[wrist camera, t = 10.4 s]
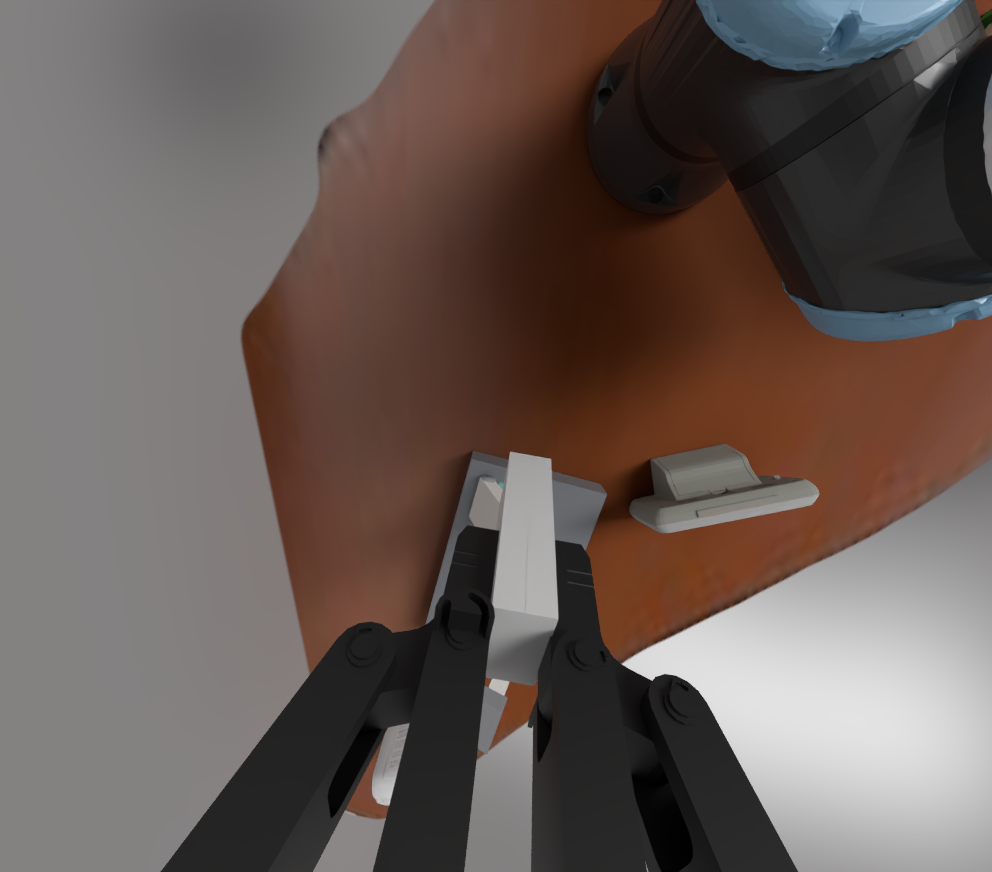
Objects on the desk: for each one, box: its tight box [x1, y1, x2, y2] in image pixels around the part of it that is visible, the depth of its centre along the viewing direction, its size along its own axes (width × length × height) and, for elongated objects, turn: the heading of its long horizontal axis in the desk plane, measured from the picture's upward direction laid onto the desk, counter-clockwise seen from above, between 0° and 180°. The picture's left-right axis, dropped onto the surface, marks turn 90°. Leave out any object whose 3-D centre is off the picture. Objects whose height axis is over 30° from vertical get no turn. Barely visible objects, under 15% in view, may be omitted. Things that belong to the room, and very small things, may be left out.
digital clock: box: [629, 444, 820, 533], centre depth 44 cm, size 16×9×11 cm, turn 91°
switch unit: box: [425, 450, 607, 625], centre depth 50 cm, size 16×24×3 cm, turn 164°
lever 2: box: [478, 679, 509, 754], centre depth 44 cm, size 2×5×15 cm, turn 164°
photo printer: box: [372, 723, 409, 805], centre depth 53 cm, size 10×4×12 cm, turn 110°
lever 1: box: [469, 475, 502, 530], centre depth 40 cm, size 2×5×15 cm, turn 165°
